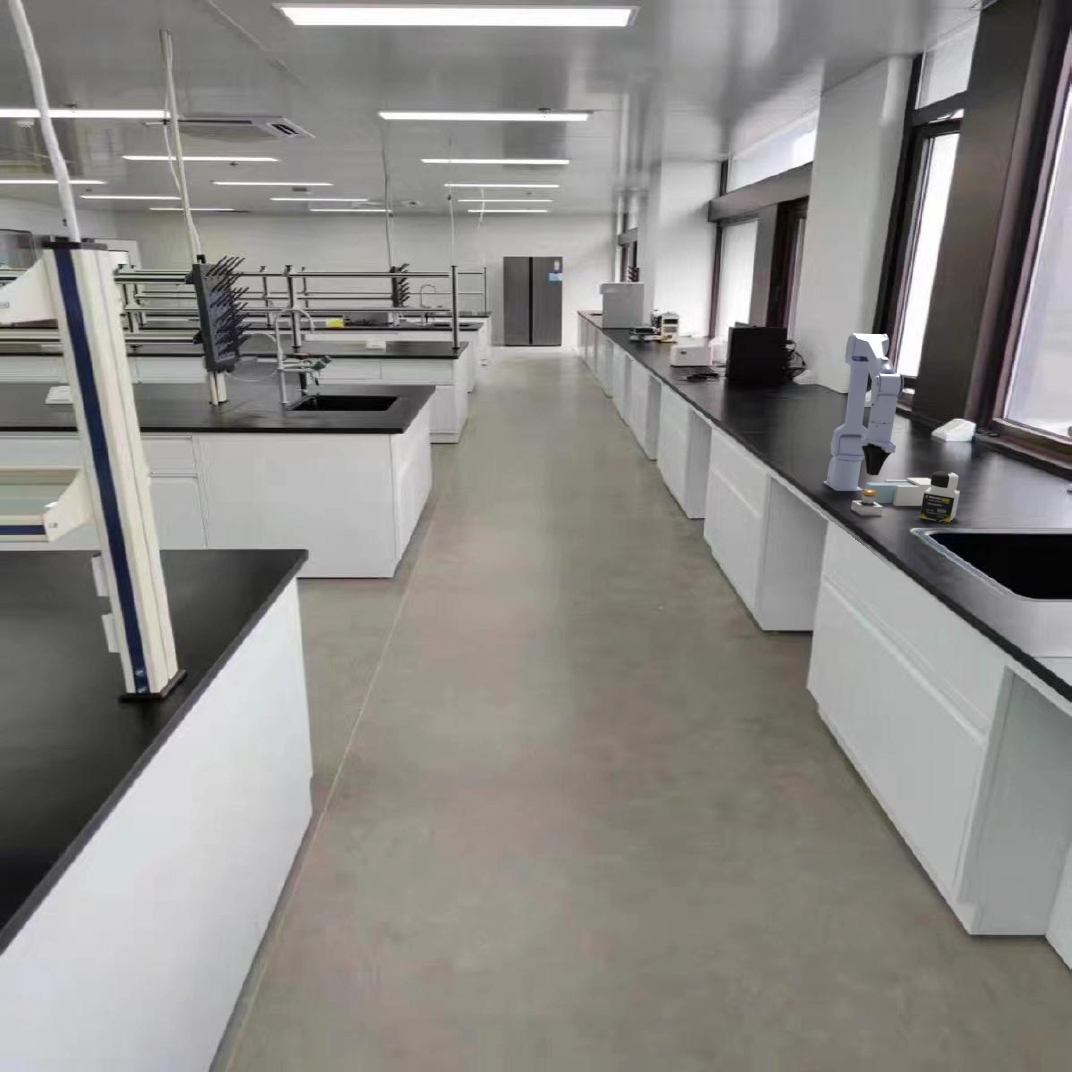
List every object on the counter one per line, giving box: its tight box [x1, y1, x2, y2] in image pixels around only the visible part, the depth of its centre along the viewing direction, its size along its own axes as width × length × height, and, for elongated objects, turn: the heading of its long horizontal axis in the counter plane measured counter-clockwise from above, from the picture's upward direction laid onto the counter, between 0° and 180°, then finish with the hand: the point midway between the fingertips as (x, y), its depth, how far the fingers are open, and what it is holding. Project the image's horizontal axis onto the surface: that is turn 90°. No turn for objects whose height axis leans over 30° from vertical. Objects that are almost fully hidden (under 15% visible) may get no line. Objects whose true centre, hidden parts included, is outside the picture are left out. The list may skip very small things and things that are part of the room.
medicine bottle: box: [919, 470, 961, 523], centre depth 196 cm, size 7×7×12 cm
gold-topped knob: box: [860, 488, 877, 506], centre depth 199 cm, size 4×4×4 cm
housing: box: [884, 477, 931, 507], centre depth 210 cm, size 7×12×6 cm, turn 93°
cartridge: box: [864, 482, 918, 504], centre depth 210 cm, size 4×17×5 cm, turn 93°
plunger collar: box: [850, 500, 884, 516], centre depth 200 cm, size 6×6×2 cm
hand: (872, 474), depth 197 cm, fingers closed
